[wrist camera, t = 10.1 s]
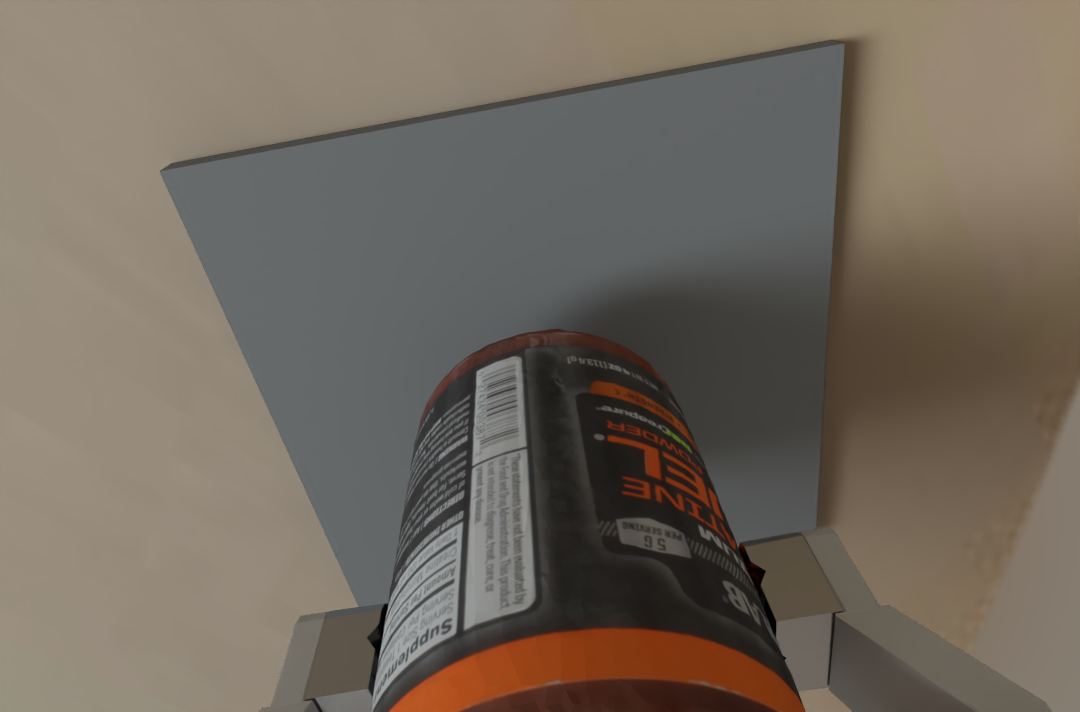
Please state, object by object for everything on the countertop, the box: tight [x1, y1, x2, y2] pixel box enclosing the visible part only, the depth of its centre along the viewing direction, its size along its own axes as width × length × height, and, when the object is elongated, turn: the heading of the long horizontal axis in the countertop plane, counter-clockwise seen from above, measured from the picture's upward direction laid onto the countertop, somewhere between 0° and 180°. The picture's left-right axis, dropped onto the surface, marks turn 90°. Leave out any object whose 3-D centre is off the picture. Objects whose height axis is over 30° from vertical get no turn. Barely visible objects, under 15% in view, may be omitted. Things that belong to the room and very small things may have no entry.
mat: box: [160, 40, 845, 607], centre depth 18 cm, size 14×14×1 cm
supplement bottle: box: [370, 329, 805, 712], centre depth 11 cm, size 6×6×11 cm
